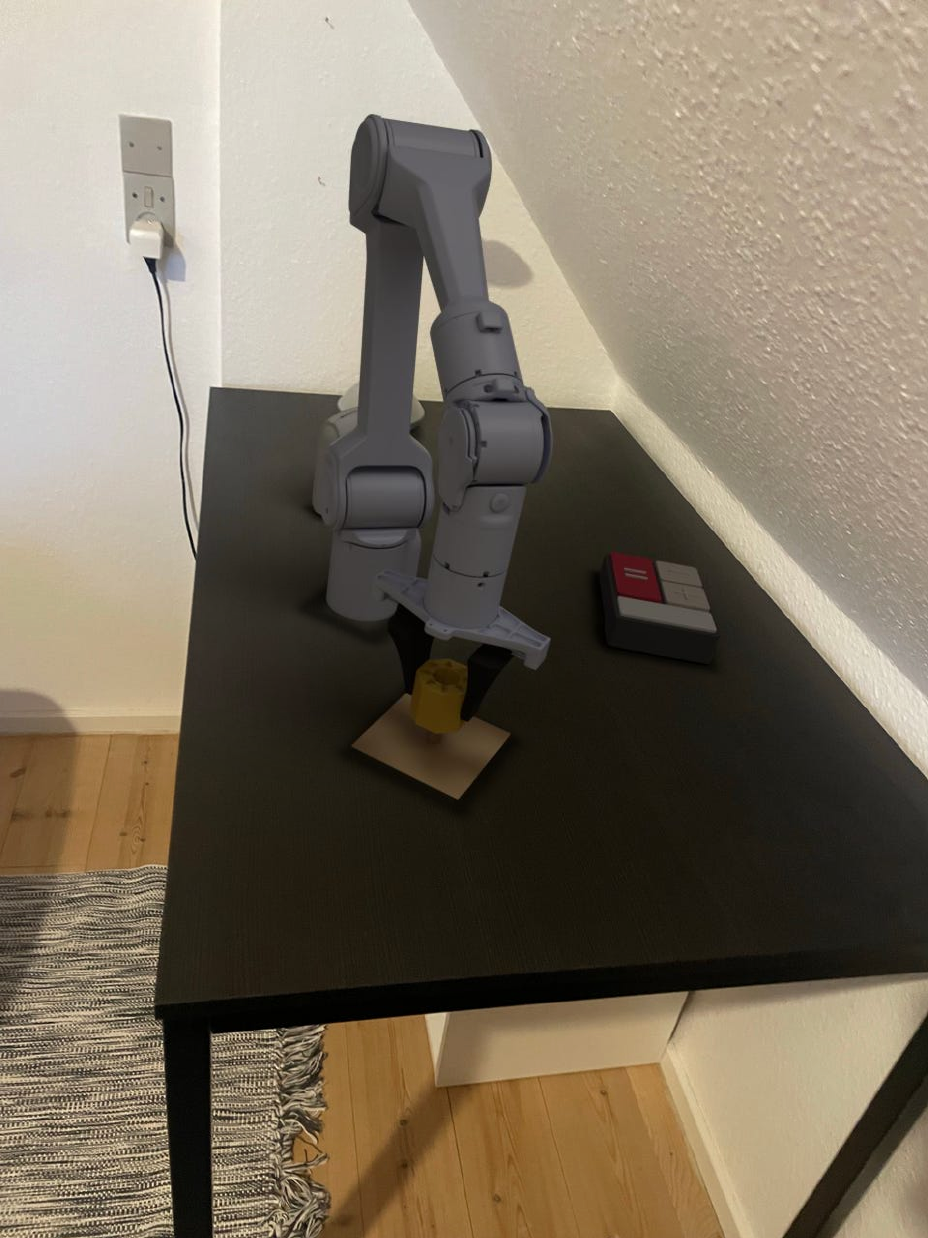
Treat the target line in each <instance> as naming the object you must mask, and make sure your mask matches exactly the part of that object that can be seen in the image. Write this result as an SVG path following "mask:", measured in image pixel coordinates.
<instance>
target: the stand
mask: <svg viewBox="0 0 928 1238" xmlns="http://www.w3.org/2000/svg"><path fill="white" fill-rule="evenodd" d="M411 697H412V696H411V695H409V694H407V693H405V692H404V694H403V695H402V696H401V697H400V698H399V699H398V700H397V701H396V702H394V704H393V705H391V707H390V708H389V709H387V710H386V711H385V713H383V714H382V716H380V717H379V718H378V719H377V720H376V721H375V722H374V723H373V724H372V725H371V726H370V727H369V728H368V729H367V730H366V731H365V732H363V733H362V734H361V736H360V737H358V738H357V739H356V740H355V741H354V742H353V743H351V745H350V747H351V748H353V749H356V750H358V751H359V752H361V753H364V755H365V754H366V755H368V756H369V757H372V758H373V759H375V760H377V761H379V762H381V763H384V764H386V765H388V766H389V767H392V768H394V769H396V770H398V771H400V772H401V773H403V774H406V775H407V776H409V777H412V778H414V779H415V780H417V781H419V782H421V783H424V784H425V785H427V786H429V787H431V788H433V789H436V790H437V791H439V792H441V793H444V794H446V795H448V796H449V797H452V798H454V799H455V800H460V798H461V797H462V796H463V795H464V794H465V792H466V791H467V790H468V788H469V787H470V786H471V785H472V783H473V782H474V781H475V780H476V779H477V777H478V776H479V774H480V773H481V772H482V771H483V770H484V769H485V768H486V766H487V765H488V763H489V762H490V761H491V760H492V758H493V757H494V756H495V755H496V753H497V752H498V751H499V749H501V747H502V746H503V744H504V743H505V742H506V741H507V740H508V738H509V737H510V736H511V732H508V731H506V730H504V729H502V728H499V727H498V726H496V725H493V724H491V723H489V722H487V721H485V720H483V719H480V718H478V717H476V716H475V715H474V716H473V717H472V718H471V719H470V721H469V722H466V723H465V724H464V726H463V727H462V728H461V729H460V730H459V731H458V732H452V733H438V734H436V733H434V732H431V731H429V730H427V729H425V728H423V727H421V726H419V725H417V724H415V722H414V719H413V717H412V714H411V712H410V709H409V708H410V703H411Z"/></svg>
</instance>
